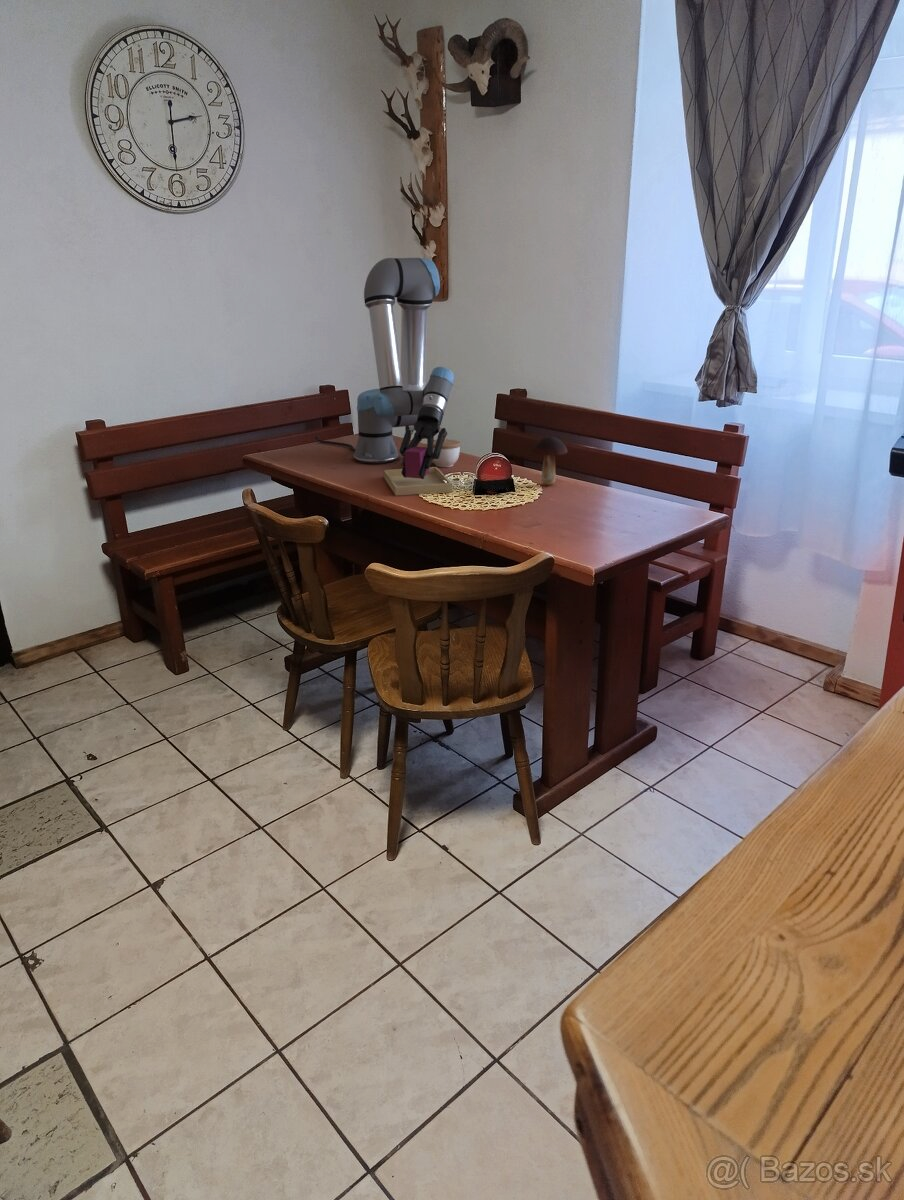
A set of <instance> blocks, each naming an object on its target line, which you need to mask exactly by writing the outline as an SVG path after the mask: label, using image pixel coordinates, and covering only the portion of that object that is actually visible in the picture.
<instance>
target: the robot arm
mask: <svg viewBox="0 0 904 1200" xmlns="http://www.w3.org/2000/svg"><path fill="white" fill-rule="evenodd" d="M440 289H441V279H440V274H439V270H438V268H437V266H436V264H435V263H434V261H433V260H431V259H430V258H424V257H386V258H383V259H381V260H379V261H378V262H376V263H375V264H374V265H373V266H372V267H371V269H370V271H369V272H368V274H367V277H366V280H365V283H364V289H363V299H364V306H365V307H366V308H367V309H368V313H369V319H370V321H369V322H370V328H371V333H372V334H371V336H372V343H373V349H374V357H375V358H374V359H375V364H376V365H375V366H376V373H377V380H378V381H377V382H378V387H379V388H373V389H367V390H365V391H362V392H360V393H359V394H358V395H357V398H356V399H357V402H356V404H357V405H356V411H357V429H358V430H357V431H358V437H357V438H358V439H357V442H356V445H355V448H354V446H353V445H352V444H349V443H345V442H338V441H332V440H331V441H330V440H324V439H323V440H322V439H320V438H319V435H317V434H316V435H315V437H314V440H316V441H317V442H318V443H321V444H330V445H338V446H343V447H348V448H350V449H351V450H352V451H353V452H354V454H353V458H354V461H355V462H357V463H360V464H368V465H369V464H370V465H381V464H389V463H393V462H396V461H398V460H399V454H400V455H401V457H403V458H402V460H401V465H402V468H401V469H402V472H401V473H402V475H403V477H405V451H406V450H408V449H410V448H412V447H418V445H419V443H421V442H422V440H424V439H426V448H427V453H426V454H427V456H424V459H423V462H422V465H421V469H420V472H419V475H420V477H421V479H424V476H425V473H426V470H427V469H429V468H430V467H431V464H432V463H433V461H432V460H433V459H439V456H440V452H441V449H442V445H443V441H444V438H445V437H446V438H447V436H448V431H447V429H446V428H445V427H441V425H442V423H443V417H444V415H445V413H446V412H445V411H446V408H447V404H448V401H449V398H450V395H451V391H452V387H453V386H454V382H455V381H454V380H455V374H454V373H453V371H452V370H451V369H450V368H446V367H445V366H436V367H434V368H433V369H432V371H431V373H430V375H429V379H428V382H426V376H427V375H426V372H427V370H426V369H427V339H428V338H427V335H428V310H429V308H430V307H431V306H432V305H433V298H435V297H438V295H439V293H440ZM395 298H396V299H395ZM396 303H397V304H398V306H399V307H400V309H401V310H400V355H399V347H398V339H397V331H396V323H395V315H394V308H393V307H394V306H395V304H396ZM403 427H404V428H405V429H404V430H405V432H404V435H403V438H402V441H401V444H400V447H399V450H398V448H397V446H396V442H395V439H394V437H393V435H394V434H393V429H394V428H403ZM414 431H415V432H414ZM437 434H438V435H437ZM412 435H413V437H412ZM436 435H437V438H436V440H437V441H436V445H435V449H434V452H433V442H434V440H435V436H436ZM411 438H412V439H411ZM405 478H406V477H405Z"/></svg>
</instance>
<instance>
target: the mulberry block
mask: <svg viewBox="0 0 904 1200" xmlns="http://www.w3.org/2000/svg"><path fill="white" fill-rule="evenodd" d="M426 453H427V446H426V447H425V446H421V447H420V446H417V447H412V448H410V449H408V450H406V451H405V477H408V478H419V479H421V477H420V475H419V472H420V469H421V465H422V462H423V459H424V456H427V454H426ZM427 474H429V469H427V470H426V473H425V475H427Z"/></svg>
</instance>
